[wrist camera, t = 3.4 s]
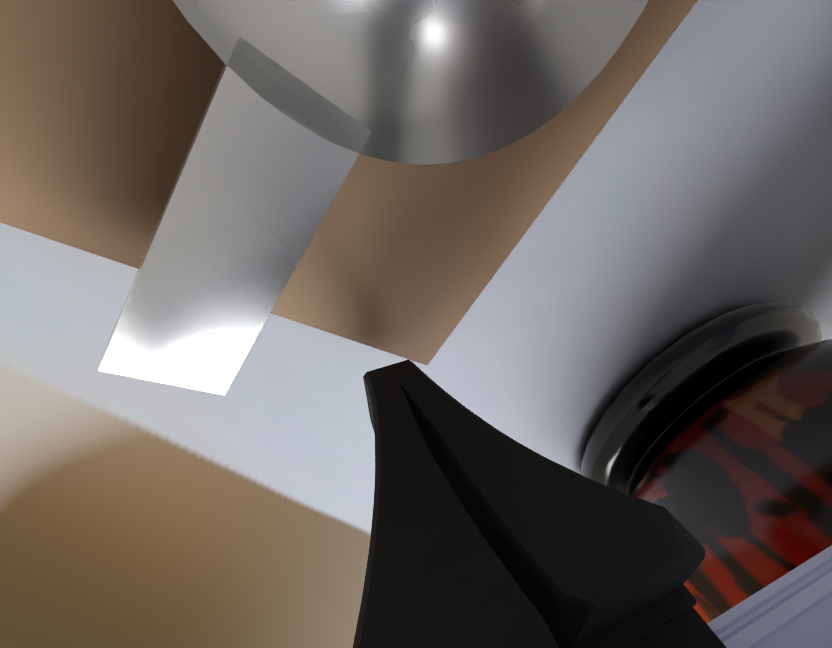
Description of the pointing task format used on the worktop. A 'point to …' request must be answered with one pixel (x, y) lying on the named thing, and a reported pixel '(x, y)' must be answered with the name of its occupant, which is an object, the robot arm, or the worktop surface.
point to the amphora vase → (731, 446)
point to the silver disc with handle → (331, 144)
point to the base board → (348, 213)
